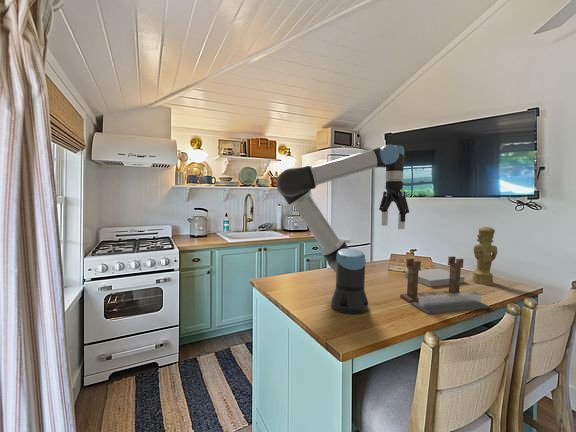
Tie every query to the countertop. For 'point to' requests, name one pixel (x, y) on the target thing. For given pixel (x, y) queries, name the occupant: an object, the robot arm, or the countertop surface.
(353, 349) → the countertop surface
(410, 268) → the rack
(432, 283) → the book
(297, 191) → the robot arm
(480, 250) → the statue
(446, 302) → the rail
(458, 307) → the mat
